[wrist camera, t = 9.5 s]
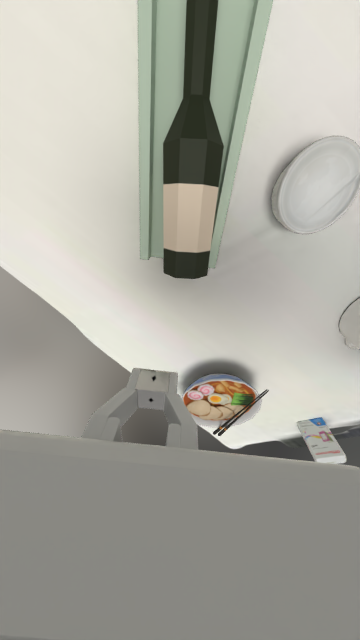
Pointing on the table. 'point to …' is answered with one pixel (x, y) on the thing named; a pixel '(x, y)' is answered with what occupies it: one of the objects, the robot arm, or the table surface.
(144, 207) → the tray
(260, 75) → the table surface
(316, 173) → the ramekin
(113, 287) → the table surface
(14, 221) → the table surface
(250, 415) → the ramen bowl
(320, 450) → the ink box
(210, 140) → the wine bottle
